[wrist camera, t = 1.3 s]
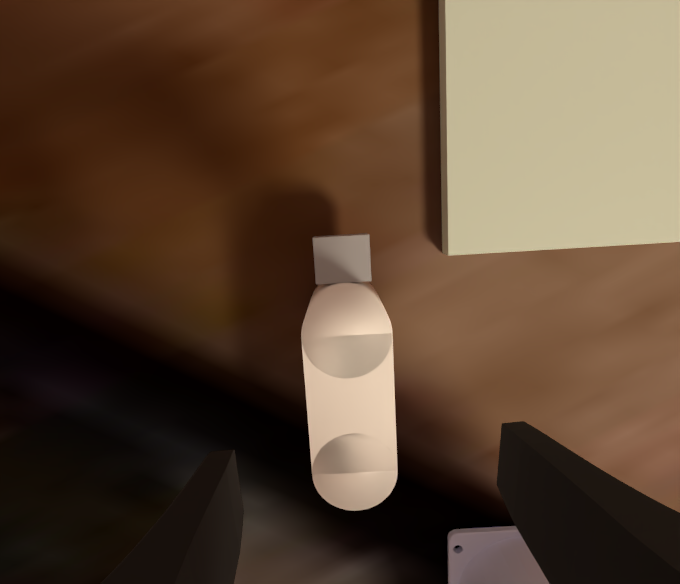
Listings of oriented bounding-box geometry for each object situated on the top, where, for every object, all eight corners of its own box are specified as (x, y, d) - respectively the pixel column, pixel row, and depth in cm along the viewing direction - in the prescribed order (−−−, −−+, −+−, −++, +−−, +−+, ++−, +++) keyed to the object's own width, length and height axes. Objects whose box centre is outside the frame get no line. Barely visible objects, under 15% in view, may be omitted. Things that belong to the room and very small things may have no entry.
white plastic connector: (386, 445, 23) (399, 508, 18) (320, 448, 23) (315, 512, 18) (376, 230, 21) (388, 236, 16) (304, 235, 21) (293, 241, 16)
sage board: (724, 236, 21) (747, 237, 20) (442, 253, 21) (448, 255, 20) (756, -62, 18) (785, -80, 17) (438, -41, 19) (444, -58, 17)
